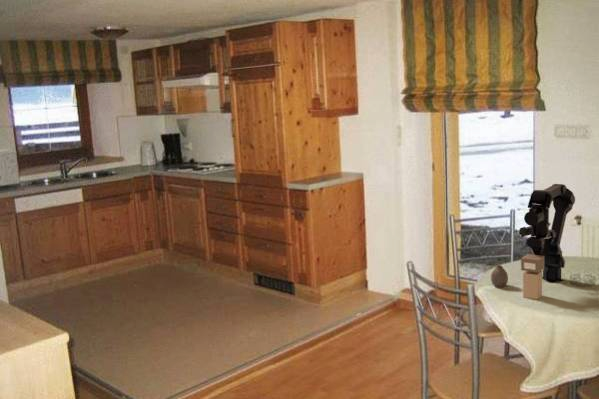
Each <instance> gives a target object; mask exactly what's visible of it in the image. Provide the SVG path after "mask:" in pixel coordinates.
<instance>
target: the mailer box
mask: <svg viewBox="0 0 599 399" xmlns="http://www.w3.org/2000/svg"><path fill="white" fill-rule="evenodd" d="M542 277H543V270H541V271H540V272H539V273H537V272H530V271H524V272H523V273H522V284H523V285H522V291H523V292H522V297H523V298H525V299H531V300H539V299H540V298H541V297H542V296H543V278H542Z"/></svg>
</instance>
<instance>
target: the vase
mask: <svg viewBox="0 0 599 399" xmlns="http://www.w3.org/2000/svg"><path fill="white" fill-rule="evenodd" d="M490 281H491V283H492V285H493V286H494V287H496V288H504V287H506V286H507V284H508V281H509V276H508V273H507V271H506V270H505V269H504V267H503V265H499V264H498V265H496V266H495V268H494V269H493V270H492V272H491V275H490Z"/></svg>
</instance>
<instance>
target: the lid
mask: <svg viewBox="0 0 599 399" xmlns="http://www.w3.org/2000/svg"><path fill="white" fill-rule="evenodd" d="M520 259H521V260H520V271H524V272H525V271H530V272H537V273H539V272H540V271H543V269H544V256H540V255H534V254H533V253H532V254H530V253H527V254H525V255H524V256H523V257H521V258H520Z"/></svg>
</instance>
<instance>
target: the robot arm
mask: <svg viewBox="0 0 599 399" xmlns="http://www.w3.org/2000/svg"><path fill="white" fill-rule="evenodd" d="M575 202H576V197H575V194H574V193H573V191H572V190H570V189H569V188H568V187H567V186H566V185H565V184H563V183H562V184H561V183H553V184H552V185H551V186H549V187H547V188H543V189H536V190H533V191H532V192H531V194H530V197H529V200H528V204H527V208H528V211H527V212H526V213H525V215H524V217H523V220H524V222H525V224H526V225H528V226H523V227H520V228H519V230H518V235H519V236H520V237H521V238H525V237H527V236H529V237H528V238H527V239H525V245H526V246H527V247H529V248H531V250H532V254H533V255H540V256H544V269H542V280H545V281H547V282H549V283H553V282H554V283H556V282H562V281H564V279H563V278H562V269H563V268H565V266H566V260H565V258H564V256H563V250H562V248H561V240H562V237H563V232H564V228H565V223H566V220H567V215H568V213H570V212H571V211H572V210H573V206H574V205H575ZM551 205H552V206H553V208H554V216H553V219H552V223H551V222H550V209H551ZM551 224H552V225H551ZM550 226H551V228H549V227H550Z"/></svg>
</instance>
